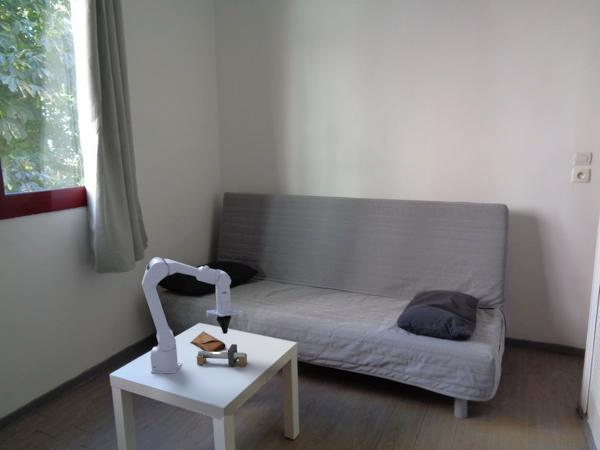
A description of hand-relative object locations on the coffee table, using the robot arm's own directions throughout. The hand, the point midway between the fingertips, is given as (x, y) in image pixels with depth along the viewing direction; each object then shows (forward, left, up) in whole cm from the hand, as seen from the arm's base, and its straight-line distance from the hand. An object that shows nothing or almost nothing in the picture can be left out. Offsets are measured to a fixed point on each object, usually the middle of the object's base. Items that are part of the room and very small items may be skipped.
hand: (225, 332), depth 185 cm
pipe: (0, -6, -10) cm, 12 cm away
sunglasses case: (-12, +10, -11) cm, 19 cm away
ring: (+4, -6, -10) cm, 13 cm away
